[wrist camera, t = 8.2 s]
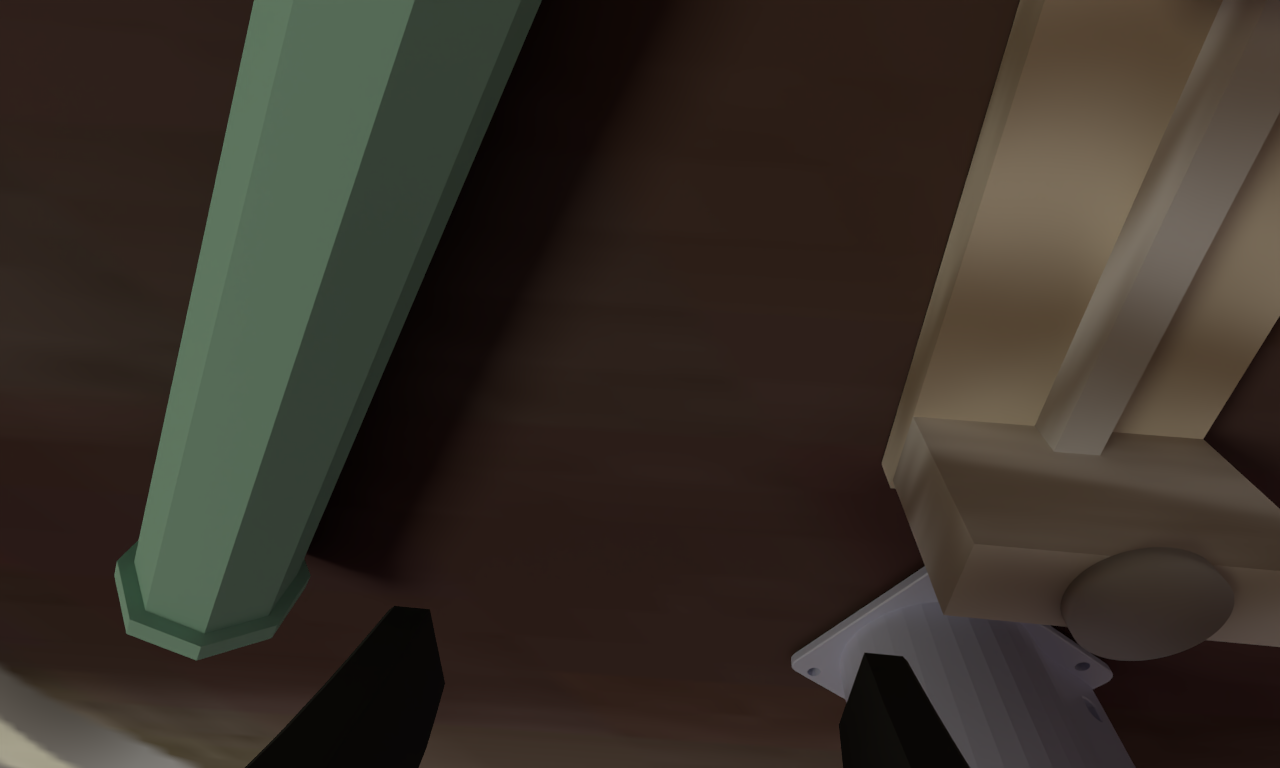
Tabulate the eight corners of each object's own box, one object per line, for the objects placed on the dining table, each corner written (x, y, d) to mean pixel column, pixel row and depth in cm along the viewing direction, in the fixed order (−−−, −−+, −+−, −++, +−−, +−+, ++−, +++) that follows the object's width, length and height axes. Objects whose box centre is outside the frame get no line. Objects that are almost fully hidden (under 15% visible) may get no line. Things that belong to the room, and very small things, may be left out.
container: (264, -412, 8) (82, 658, 20) (660, -107, 11) (295, 661, 23) (315, -339, 12) (140, 506, 24) (590, -134, 15) (313, 526, 27)
